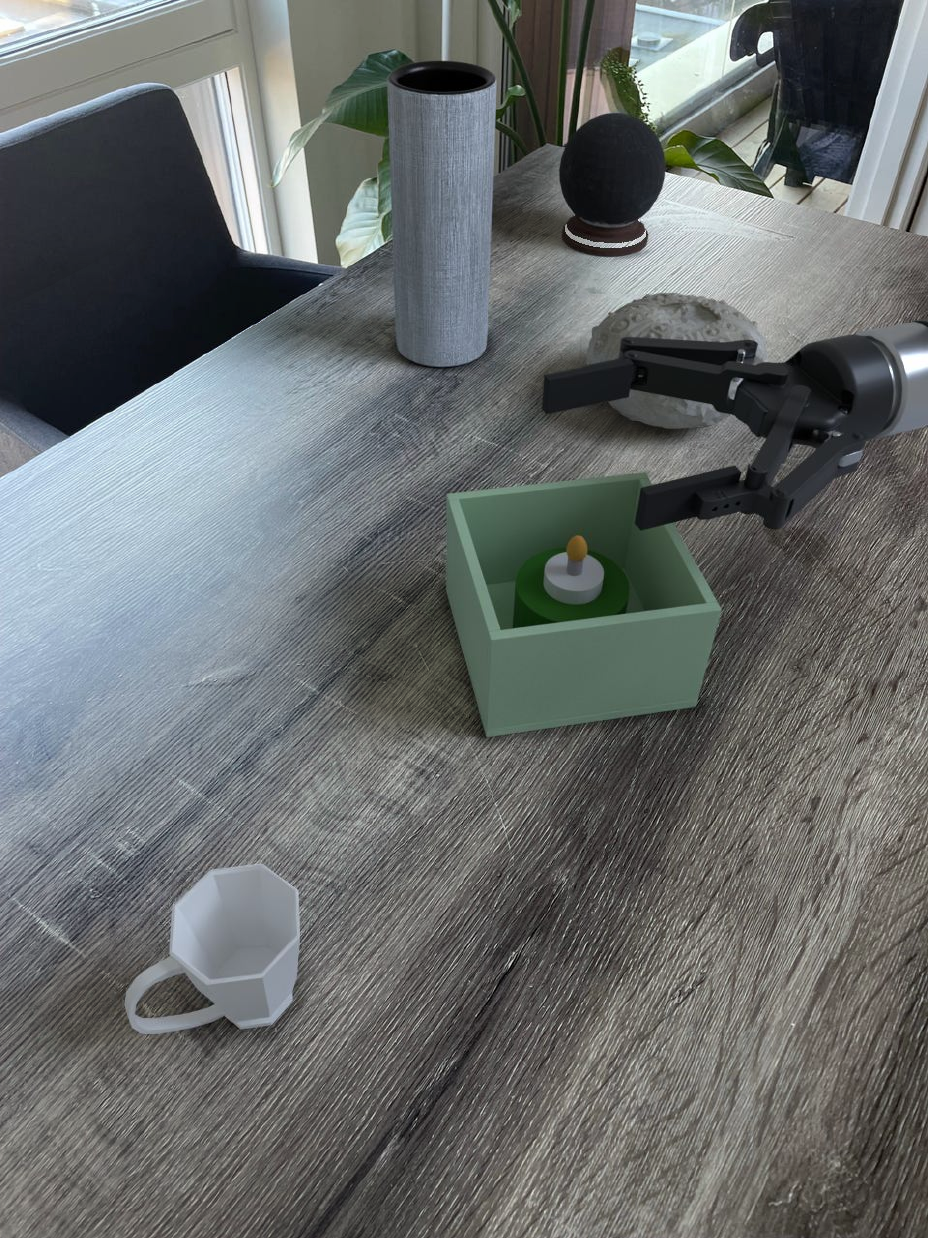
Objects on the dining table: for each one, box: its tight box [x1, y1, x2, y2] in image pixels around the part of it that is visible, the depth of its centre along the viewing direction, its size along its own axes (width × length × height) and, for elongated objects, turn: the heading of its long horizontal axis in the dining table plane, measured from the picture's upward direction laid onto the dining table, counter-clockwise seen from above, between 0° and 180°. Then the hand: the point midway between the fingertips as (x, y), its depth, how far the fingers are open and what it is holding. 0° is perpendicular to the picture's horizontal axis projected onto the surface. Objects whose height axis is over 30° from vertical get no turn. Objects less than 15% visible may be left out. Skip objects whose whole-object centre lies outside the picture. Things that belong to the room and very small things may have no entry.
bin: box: [445, 471, 723, 738], centre depth 74 cm, size 16×16×10 cm
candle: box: [513, 535, 630, 628], centre depth 73 cm, size 8×8×10 cm
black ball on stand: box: [558, 112, 667, 258], centre depth 125 cm, size 13×13×15 cm
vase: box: [386, 60, 497, 368], centre depth 100 cm, size 10×10×27 cm
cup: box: [124, 862, 301, 1035], centre depth 53 cm, size 7×10×8 cm
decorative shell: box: [585, 292, 769, 430], centre depth 99 cm, size 18×18×10 cm
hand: (588, 448), depth 64 cm, fingers open, 13 cm apart
